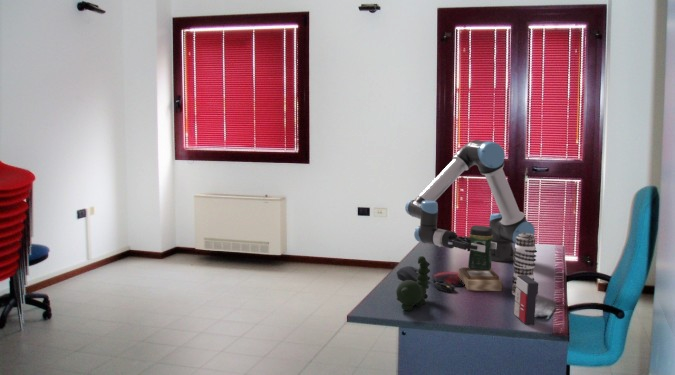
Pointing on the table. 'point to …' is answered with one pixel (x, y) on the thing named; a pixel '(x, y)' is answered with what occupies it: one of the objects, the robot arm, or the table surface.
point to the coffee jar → (481, 237)
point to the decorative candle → (523, 257)
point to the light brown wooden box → (480, 279)
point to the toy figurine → (414, 287)
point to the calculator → (525, 299)
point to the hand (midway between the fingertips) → (490, 247)
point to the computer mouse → (412, 274)
